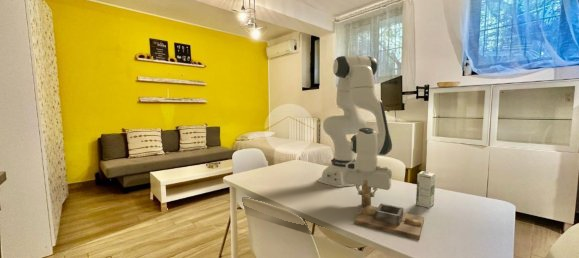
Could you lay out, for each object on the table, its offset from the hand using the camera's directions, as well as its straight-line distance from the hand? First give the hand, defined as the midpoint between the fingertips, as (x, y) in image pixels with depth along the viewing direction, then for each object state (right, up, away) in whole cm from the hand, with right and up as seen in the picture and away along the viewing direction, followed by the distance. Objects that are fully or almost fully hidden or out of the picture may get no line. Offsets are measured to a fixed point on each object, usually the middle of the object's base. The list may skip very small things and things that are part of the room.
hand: (366, 195), depth 109 cm
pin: (0, -5, 0) cm, 4 cm away
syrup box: (+26, -4, 0) cm, 26 cm away
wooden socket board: (+4, -6, -15) cm, 17 cm away
